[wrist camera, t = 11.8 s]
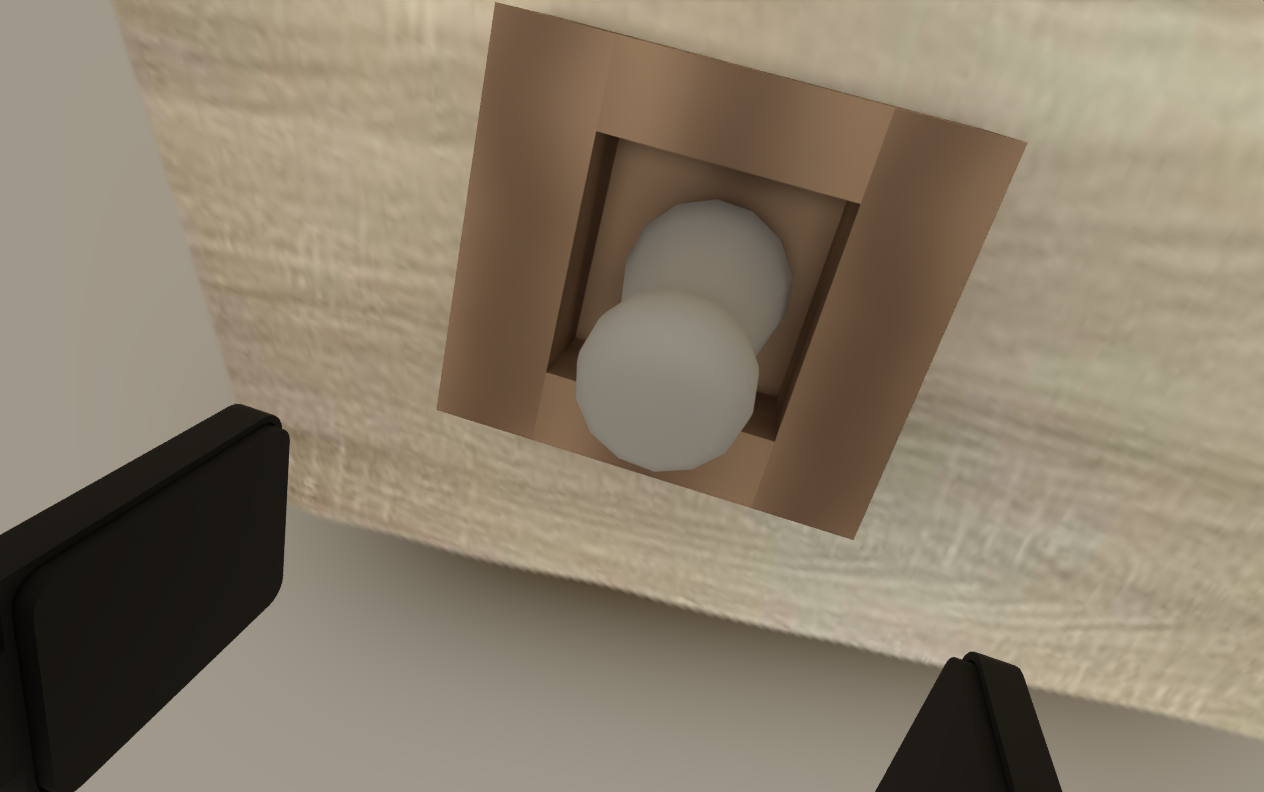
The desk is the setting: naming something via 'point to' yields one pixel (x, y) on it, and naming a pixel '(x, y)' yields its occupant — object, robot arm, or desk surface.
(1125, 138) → the desk surface
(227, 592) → the robot arm
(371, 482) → the desk surface
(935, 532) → the desk surface
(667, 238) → the grey rounded peg
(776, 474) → the socket block
